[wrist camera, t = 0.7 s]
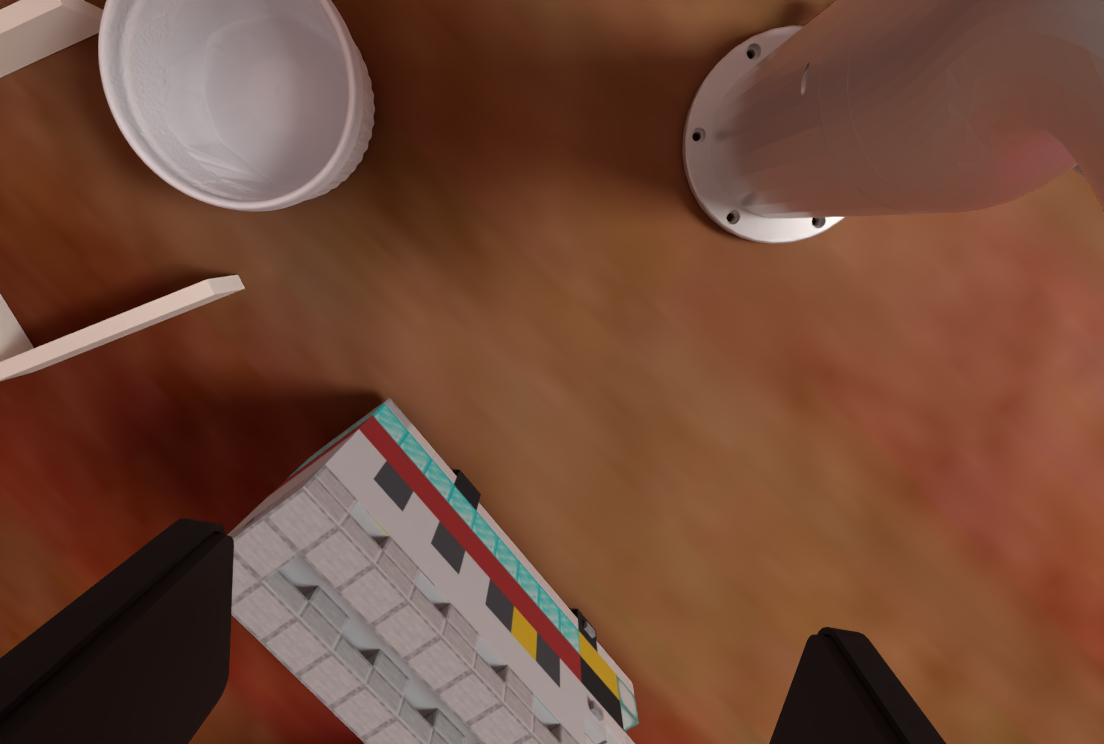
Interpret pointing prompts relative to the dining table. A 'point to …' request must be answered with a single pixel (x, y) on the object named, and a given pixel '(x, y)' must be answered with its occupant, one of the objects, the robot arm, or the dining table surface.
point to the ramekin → (238, 96)
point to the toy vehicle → (417, 604)
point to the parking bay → (3, 348)
